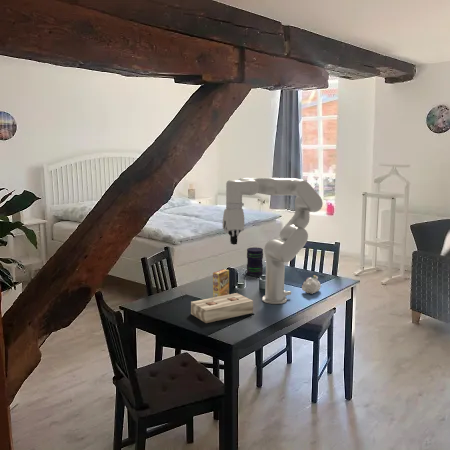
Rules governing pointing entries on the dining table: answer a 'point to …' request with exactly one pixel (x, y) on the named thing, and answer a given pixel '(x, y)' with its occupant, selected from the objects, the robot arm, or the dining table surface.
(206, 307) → the birch block
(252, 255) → the storage jar
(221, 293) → the candy box
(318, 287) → the cream lumpy bulb
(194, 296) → the dining table surface
